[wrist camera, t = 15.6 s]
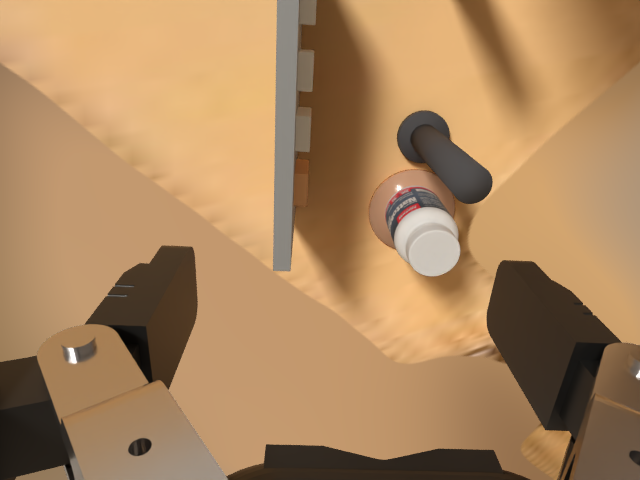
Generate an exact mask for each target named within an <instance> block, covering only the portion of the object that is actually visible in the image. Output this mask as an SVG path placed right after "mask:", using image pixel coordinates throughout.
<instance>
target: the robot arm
mask: <svg viewBox="0 0 640 480" xmlns="http://www.w3.org/2000/svg"><path fill="white" fill-rule="evenodd" d="M196 285H197V284H196V269H195V255H194V250H193V248H192V247H184V246H161V248H160V249H159V251H158V252H157V254H156V255H155V256H154V258H153V259H152V261H151V262H150V263H149V264H144V263H140V264H138V265H136V266H135V267H133V268H131V269H129V270H128V271H126V272H124V273H123V275H122V276H121V277H120V279H119V280H118V281H117V283H116V284H115V287H113V288H112V289H111V290H110V292H109V293H108V296H107V297H105V298H104V300H103V301H102V302H101V303H100V305H99V306H98V307H97V309H96V310H95V311H94V313H93V314H92V315H91V317H90V318H89V319H88V321H87V322H86V323H85V325H80V326H76V327H71V328H68V329H65V330H63V331H60V332H58V333H56V334H54V335H53V336H51V337H50V338H48V339H47V340H46V341H45V342H44V343H43V344H42V345H41V346H40V348H39V350H38V351H37V356H33V357H28V358H22V359H16V360H11V361H4V362H0V480H15V478H16V477H17V476H21V475H25V474H29V473H34V472H38V471H41V470H46V469H50V468H54V467H58V466H63V465H64V469H65V472H66V475H67V478H68V480H530V479H528V478H525V477H523V476H520V475H517V474H514V473H512V472H509V471H504V470H502V468H501V466H500V464H499V461H498V459H497V457H496V454H495V452H494V450H467V449H466V450H464V449H435V450H431V451H426V452H421V453H417V454H412V455H408V456H403V457H398V458H393V459H388V460H379V459H375V458H370V457H366V456H362V455H358V454H354V453H350V452H345V451H341V450H338V449H333V448H329V447H325V446H305V445H304V446H303V445H266V450H265V460H264V463H263V464H259V465H255V466H251V467H248V468H245V469H242V470H240V471H237V472H235V473H233V474H231V475H228V476H225V474H224V473H223V471H222V470H221V468H220V467H219V465H218V464H217V462H216V461H215V459H214V458H213V456H212V455H211V453H210V452H209V450H208V449H207V447H206V446H205V444H204V443H203V441H202V440H201V438H200V437H199V435H198V434H197V433H196V431H195V429H194V428H193V427H192V425H191V424H190V422H189V420H188V419H187V418H186V416H185V415H184V413H183V411H182V410H181V408H180V407H179V406H178V404H177V402H176V401H175V400H174V398H173V396H172V395H171V393H170V392H169V387H170V385H171V382H172V379H173V377H174V374H175V372H176V370H177V367H178V364H179V362H180V359H181V357H182V354H183V352H184V349H185V347H186V344H187V341H188V339H189V336H190V334H191V331H192V329H193V326H194V324H195V320H196V315H197V302H198V301H197V286H196ZM487 328H488V331H489V334H490V336H491V338H492V339H493V341H494V343H495V345H496V346H497V348H498V350H499V351H500V353H501V355H502V357H503V358H504V360H505V362H506V363H507V365H508V367H509V368H510V370H511V372H512V374H513V375H514V377H515V379H516V380H517V382H518V384H519V386H520V387H521V389H522V391H523V392H524V394H525V396H526V398H527V399H528V401H529V403H530V404H531V406H532V408H533V410H534V411H535V413H536V415H537V416H538V418H539V420H540V422H541V423H542V425H543V427H544V428H545V430H558V431H570V433H571V435H572V436H571V438H570V441H569V443H568V446H567V449H566V452H565V456H564V459H563V462H562V466H561V469H560V472H559V476H558V479H557V480H640V345H636V344H630V343H622V342H621V341H620V340H619V339H618V338H617V337H616V336H615V335H614V334H613V333H612V332H611V331H610V330H609V329H608V328H607V327H606V326H605V325H604V324H603V323H602V322H601V321H600V320H599V319H598V318H597V317H596V316H595V315H593V314H592V312H591V311H590V310H589V309H588V308H587V307H586V306H585V305H583V303H582V302H581V301H580V300H579V299H578V298H577V297H576V296H575V295H574V294H573V293H572V292H571V291H570V290H568V289H567V288H565V287H563V286H562V285H560V284H558V283H556V282H554V281H552V280H551V279H550V278H549V277H548V276H547V275H546V274H545V273H544V272H543V271H542V270H541V269H540V268H539V267H538V266H537V265H536V264H535V263H534V262H532V261H506V260H504V261H502V262H501V263H500V265H499V267H498V269H497V273H496V277H495V281H494V285H493V289H492V294H491V298H490V302H489V306H488V310H487Z"/></svg>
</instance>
